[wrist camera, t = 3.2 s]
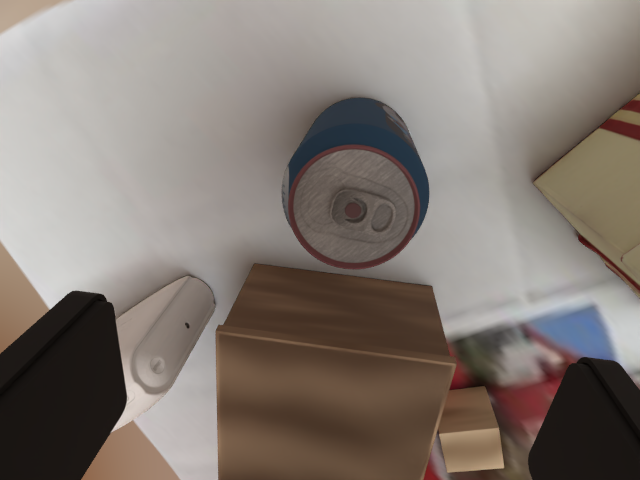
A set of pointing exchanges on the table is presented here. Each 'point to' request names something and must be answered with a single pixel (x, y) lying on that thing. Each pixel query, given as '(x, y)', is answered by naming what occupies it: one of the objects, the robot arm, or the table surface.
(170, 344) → the photo printer
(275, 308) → the walnut box
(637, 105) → the gift box
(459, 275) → the table surface
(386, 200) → the soda can
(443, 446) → the oak cube
